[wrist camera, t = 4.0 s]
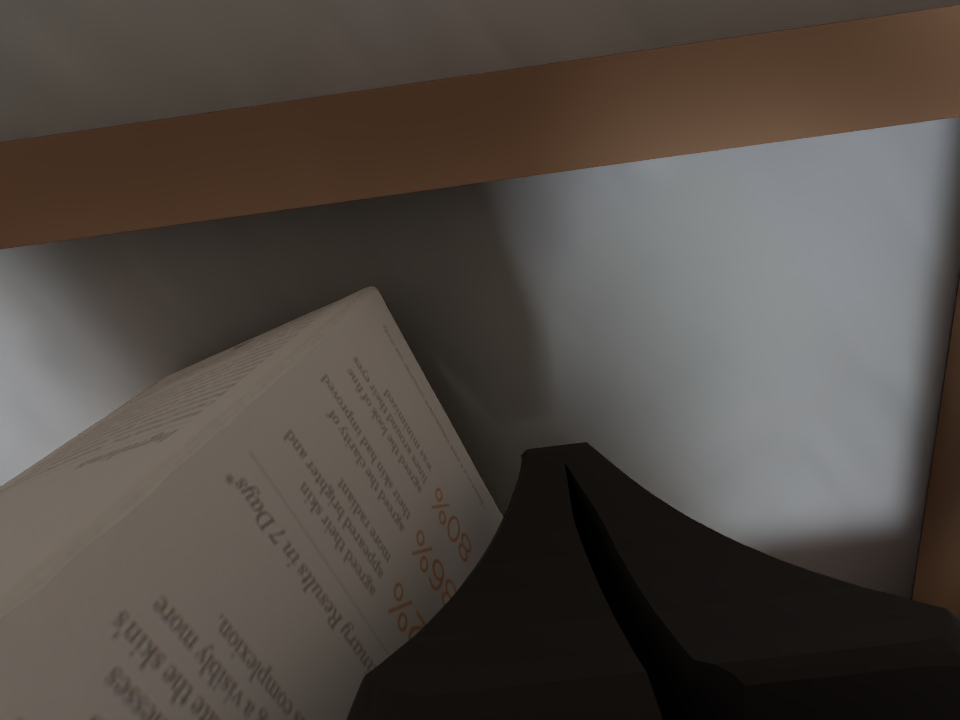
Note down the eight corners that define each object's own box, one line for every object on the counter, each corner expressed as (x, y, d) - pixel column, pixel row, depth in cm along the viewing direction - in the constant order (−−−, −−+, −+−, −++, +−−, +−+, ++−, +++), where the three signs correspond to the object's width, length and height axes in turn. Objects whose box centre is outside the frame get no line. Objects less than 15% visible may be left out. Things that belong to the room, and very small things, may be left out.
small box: (172, 368, 12) (-1198, 1230, 3) (383, 274, 10) (-1715, 1948, 1) (353, 629, 15) (-88, 1547, 5) (553, 594, 13) (391, 1948, 3)
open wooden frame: (949, 646, 15) (1037, 735, 13) (177, 734, 16) (125, 834, 13) (1064, 10, 10) (1242, -36, 8) (-61, 170, 11) (-208, 173, 9)
